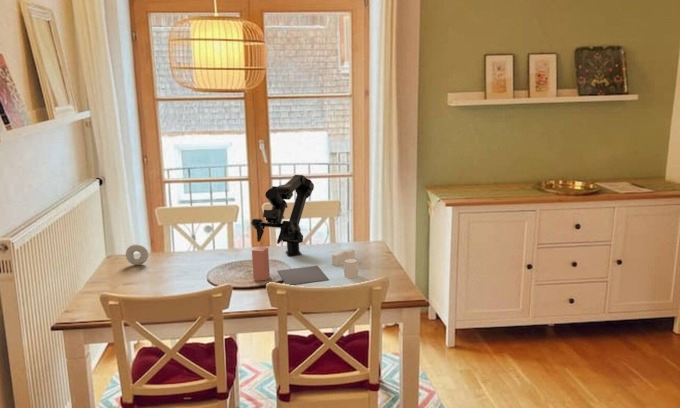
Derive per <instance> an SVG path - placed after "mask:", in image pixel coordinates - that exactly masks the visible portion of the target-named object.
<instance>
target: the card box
mask: <svg viewBox="0 0 680 408" xmlns="http://www.w3.org/2000/svg"><path fill="white" fill-rule="evenodd" d="M269 256H270V255H269V247H264V246H263V247H262V246H257V247H255V248H253V249H251V257H252V258H251V259H252V274H253V277H252V279H253V280H254V279H258V280H257V281H259V280H265V281H267V280H268V279H269V278H270V260H269V258H270V257H269ZM268 277H269V278H268ZM267 278H268V279H267Z"/></svg>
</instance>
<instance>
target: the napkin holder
mask: <svg viewBox="0 0 680 408" xmlns="http://www.w3.org/2000/svg"><path fill="white" fill-rule="evenodd" d="M355 256H356V255H355V249H354V248H349V249H346V250H340V251H338V252H335V253H332V254H331V265H332V266H335V267H337V266H339V265H342V264H343V260H344V259H348V258H355ZM355 259H356V258H355Z"/></svg>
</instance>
